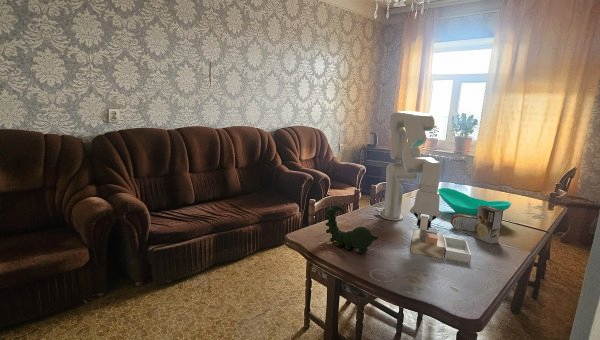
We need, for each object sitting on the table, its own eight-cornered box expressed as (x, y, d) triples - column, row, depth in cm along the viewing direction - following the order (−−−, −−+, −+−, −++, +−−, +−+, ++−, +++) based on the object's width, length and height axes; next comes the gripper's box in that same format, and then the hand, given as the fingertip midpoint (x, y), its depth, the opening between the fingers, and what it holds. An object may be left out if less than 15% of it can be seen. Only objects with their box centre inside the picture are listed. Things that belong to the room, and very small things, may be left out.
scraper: (418, 240, 134) (421, 221, 132) (419, 227, 148) (421, 210, 146) (426, 241, 132) (428, 222, 131) (425, 228, 147) (428, 211, 145)
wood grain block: (410, 252, 136) (412, 241, 135) (411, 238, 150) (413, 229, 149) (443, 258, 131) (445, 247, 130) (441, 244, 146) (442, 234, 145)
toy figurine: (321, 246, 140) (372, 261, 124) (321, 205, 138) (373, 215, 122) (333, 240, 148) (383, 253, 132) (333, 201, 145) (383, 209, 129)
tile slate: (424, 236, 141) (425, 231, 141) (424, 232, 146) (425, 227, 145) (436, 238, 139) (437, 233, 139) (436, 234, 144) (436, 229, 143)
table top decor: (426, 211, 193) (428, 191, 191) (446, 204, 211) (449, 185, 208) (497, 232, 164) (502, 208, 161) (514, 222, 181) (518, 200, 179)
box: (444, 258, 131) (445, 250, 130) (442, 244, 146) (443, 236, 145) (470, 263, 128) (471, 254, 127) (465, 248, 142) (466, 240, 142)
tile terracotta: (424, 242, 135) (425, 236, 134) (424, 237, 139) (425, 232, 139) (437, 244, 133) (437, 238, 132) (436, 239, 138) (437, 234, 137)
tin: (480, 231, 164) (483, 216, 163) (481, 233, 161) (484, 218, 160) (449, 227, 169) (451, 212, 167) (449, 229, 166) (452, 213, 164)
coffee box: (498, 242, 151) (504, 210, 148) (489, 244, 149) (495, 211, 146) (481, 235, 160) (486, 205, 156) (472, 236, 157) (477, 206, 154)
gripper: (408, 187, 136) (403, 227, 139) (449, 193, 130) (443, 234, 133) (409, 184, 142) (404, 222, 146) (448, 189, 137) (442, 228, 140)
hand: (423, 227), depth 140 cm, fingers closed on scraper, 3 cm apart
